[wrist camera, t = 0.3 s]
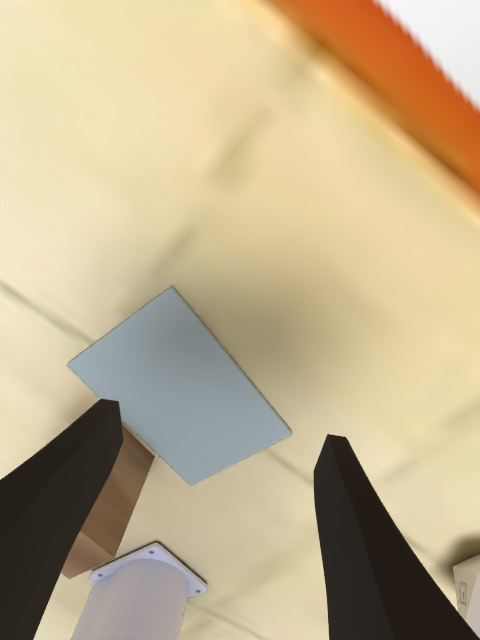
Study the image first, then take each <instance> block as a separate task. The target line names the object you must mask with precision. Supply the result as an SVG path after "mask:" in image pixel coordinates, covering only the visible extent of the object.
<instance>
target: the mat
mask: <svg viewBox="0 0 480 640" xmlns="http://www.w3.org/2000/svg"><path fill="white" fill-rule="evenodd" d="M66 366H67V367H68V368H69V369H71V370H72V371H73V372H74V373H75V374H76V375H77V376H78V377H79V378H80V379H81V380H82V381H83V382H84V383H85V384H86V385H87V386H88V387H89V388H90V389H91V390H92V391H93V392H94V393H95V394H96V395H97V396H98V397H99V398H100V399H108V400H114V401H119V406H120V414H121V419H122V420H123V421H124V422H125V423H126V424H127V425H128V426H129V427H130V428H131V429H132V430H133V431H134V432H135V433H136V434H137V435H138V436H139V437H140V438H141V439H142V440H144V441H145V442H146V443H147V444H148V445H149V446H150V447H151V448H152V449H153V450H154V451H155V452H156V453H157V454H158V455H159V456H160V457H161V458H162V459H163V460H164V461H165V462H166V463H167V464H168V465H169V466H170V467H171V468H172V469H173V470H174V471H175V472H176V473H177V474H178V475H180V476H181V477H182V478H183V479H184V480H185V481H186V482H187V483H188V484H189V485H190V486H191V485H193V484H195V483H197V482H199V481H201V480H203V479H205V478H207V477H209V476H211V475H213V474H215V473H217V472H219V471H221V470H223V469H225V468H227V467H229V466H231V465H233V464H235V463H237V462H239V461H241V460H243V459H245V458H247V457H249V456H251V455H253V454H255V453H257V452H259V451H261V450H263V449H265V448H267V447H269V446H271V445H273V444H275V443H277V442H279V441H280V440H282V439H284V438H286V437H288V436H290V435H292V431H291V429H290V428H289V427H288V426H287V424H286V423H285V422H284V421H283V420H282V418H281V417H280V416H279V415H278V413H277V412H276V411H275V410H274V409H273V407H272V406H271V405H270V404H269V403H268V401H267V400H266V399H265V398H264V396H263V395H262V394H261V393H260V392H259V390H258V389H257V388H256V387H255V386H254V384H253V383H252V382H251V381H250V379H249V378H248V377H247V376H246V375H245V373H244V372H243V371H242V370H241V369H240V367H239V366H238V365H237V364H236V362H235V361H234V360H233V359H232V358H231V356H230V355H229V354H228V353H227V352H226V350H225V349H224V348H223V347H222V345H221V344H220V343H219V342H218V341H217V339H216V338H215V337H214V336H213V335H212V333H211V332H210V331H209V330H208V328H207V327H206V326H205V325H204V324H203V322H202V321H201V320H200V319H199V318H198V316H197V315H196V314H195V313H194V311H193V310H192V309H191V308H190V307H189V305H188V304H187V303H186V302H185V300H184V299H183V298H182V297H181V296H180V294H179V293H178V292H177V291H176V290H175V288H174V287H173V286H171V287H170V288H168V289H167V290H166V291H164V292H163V293H162V294H160V295H159V296H158V297H156V298H155V299H154V300H152V301H151V302H150V303H148V304H147V305H146V306H144V307H143V308H142V309H140V310H139V311H138V312H136V313H135V314H133V315H132V316H131V317H129V318H128V319H127V320H125V321H124V322H123V323H121V324H120V325H119V326H117V327H116V328H115V329H113V330H112V331H111V332H109V333H108V334H107V335H105V336H104V337H103V338H101V339H100V340H99V341H97V342H96V343H95V344H93V345H92V346H91V347H89V348H88V349H86V350H85V351H84V352H82V353H81V354H80V355H78V356H77V357H76V358H74V359H73V360H72V361H70V362H69V363H68V364H67V365H66Z"/></svg>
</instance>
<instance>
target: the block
mask: <svg viewBox="0 0 480 640" xmlns="http://www.w3.org/2000/svg"><path fill="white" fill-rule="evenodd" d="M121 423H122V431H123V439H124V441H123V443H122V446H121V449H120V451H119V454H118V457H117V459H116V461H115V464H114V466H113V469H112V471H111V473H110V475H109V477H108V479H107V481H106V483H105V485H104V486H103V488H102V490H101V492H100V494H99V496H98V498H97V500H96V502H95V504H94V505H93V507H92V509H91V511H90V513H89V515H88V517H87V519H86V521H85V522H84V524H83V526H82V528H81V530H80V532H79V534H78V536H77V538H76V540H75V542H74V544H73V546H72V548H71V550H70V552H69V554H68V557H67V559H66V561H65V564H64V566H63V568H62V571H61V573H62V574H63V575H65V576H66V577H67V578H69V579H70V578H72V577H75V576H77V575H79V574H81V573H83V572H85V571H88V570H90V569H92V568H94V567H96V566H98V565H101V564H103V563H105V562H107V561H109V560H111V559H114V558H115V555H116V553H117V550H118V548H119V545H120V543H121V540H122V538H123V535H124V532H125V530H126V527H127V525H128V522H129V520H130V517H131V515H132V512H133V510H134V507H135V505H136V502H137V500H138V497H139V495H140V492H141V490H142V487H143V485H144V482H145V480H146V477H147V474H148V472H149V469H150V467H151V464H152V462H153V459H154V457H155V454H156V453H155V452H154V451H153V450H152V449H151V448H150V447H149V446H148V445H147V444H146V443H144V442H143V441H142V440H141V439H140V438H139V437H138V436H137V435H136V434H135V433H134V432H133V431H132V430H131V429H130V428H129V427H128V426H127V425H126V424H125V423H124V422H123V421H122V420H121Z"/></svg>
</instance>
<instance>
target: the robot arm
mask: <svg viewBox="0 0 480 640" xmlns="http://www.w3.org/2000/svg"><path fill="white" fill-rule="evenodd" d="M123 441H124V439H123V431H122V423H121V414H120V406H119V401H114V400H108V399H100V400H99V401H98V402H97V403H95V404H94V405H93V406H92V407H91V408H90V409H88V410H87V411H86V412H85V413H84V414H83V415H82V416H80V417H79V418H78V419H77V420H76V421H75V422H73V423H72V424H71V425H70V426H69V427H68V428H66V429H65V430H64V431H63V432H62V433H60V434H59V435H58V436H57V437H56V438H54V439H53V440H52V441H51V442H49V443H48V444H47V445H46V446H45V447H43V448H42V449H41V450H40V451H38V452H37V453H36V454H34V455H33V456H32V457H30V458H29V459H28V460H27V461H25V462H24V463H23V464H21V465H20V466H19V467H17V468H16V469H15V470H13V471H12V472H11V473H9V474H8V475H6V476H5V477H4V478H2V479H1V480H0V640H33V639H34V636H35V634H36V631H37V629H38V626H39V624H40V621H41V619H42V616H43V614H44V611H45V609H46V606H47V604H48V602H49V599H50V597H51V594H52V592H53V589H54V587H55V585H56V582H57V580H58V578H59V575H60V573H61V571H62V568H63V566H64V564H65V561H66V559H67V557H68V554H69V552H70V550H71V548H72V546H73V544H74V542H75V540H76V538H77V536H78V534H79V532H80V530H81V528H82V526H83V524H84V522H85V521H86V519H87V517H88V515H89V513H90V511H91V509H92V507H93V505H94V504H95V502H96V500H97V498H98V496H99V494H100V492H101V490H102V488H103V486H104V485H105V483H106V481H107V479H108V477H109V475H110V473H111V471H112V469H113V466H114V464H115V461H116V459H117V457H118V454H119V451H120V449H121V446H122V443H123ZM314 501H315V510H316V518H317V525H318V533H319V540H320V547H321V554H322V561H323V569H324V576H325V584H326V593H327V606H328V624H329V640H480V638H479V637H478V636H477V635H476V633H475V632H474V631H473V630H472V628H471V627H470V626H469V625H468V624H467V622H466V621H465V620H464V619H463V617H462V616H461V615H460V614H459V613H458V611H457V610H456V609H455V608H454V606H453V605H452V604H451V603H450V601H449V600H448V599H447V597H446V596H445V595H444V593H443V592H442V591H441V589H440V588H439V587H438V585H437V584H436V583H435V581H434V580H433V579H432V577H431V576H430V575H429V573H428V572H427V570H426V569H425V568H424V566H423V565H422V563H421V562H420V561H419V559H418V558H417V556H416V555H415V553H414V552H413V551H412V549H411V548H410V546H409V545H408V543H407V542H406V540H405V539H404V537H403V535H402V534H401V532H400V531H399V529H398V528H397V526H396V525H395V523H394V522H393V520H392V518H391V517H390V515H389V513H388V512H387V510H386V508H385V507H384V505H383V503H382V502H381V500H380V498H379V497H378V495H377V493H376V492H375V490H374V488H373V486H372V485H371V483H370V481H369V479H368V477H367V476H366V474H365V472H364V470H363V468H362V466H361V465H360V463H359V461H358V459H357V457H356V455H355V453H354V451H353V449H352V447H351V445H350V443H349V441H348V440H347V438H346V437H342V436H336V435H329V434H327V437H326V440H325V442H324V445H323V448H322V450H321V453H320V456H319V458H318V461H317V464H316V466H315V469H314ZM89 579H90V580H91V581H93V582H94V585H93V587H92V590H91V592H90V595H89V597H88V599H87V602H86V604H85V606H84V609H83V611H82V614H81V616H80V618H79V621H78V623H77V625H76V628H75V630H74V633H73V635H72V637H71V640H179V637H180V631H181V626H182V620H183V615H184V609H185V604H186V599H188V598H191V597H193V596H196V595H199V594H201V593H204V592H206V591H207V585H206V583H204V582H203V581H202V580H201V579H200V578H199V577H197V576H196V575H195V574H194V573H193V572H192V571H190V570H189V569H188V568H187V567H186V566H185V565H183V564H182V563H181V562H180V561H179V560H178V559H176V558H175V557H174V556H173V555H172V554H171V553H169V552H168V551H167V550H166V549H165V548H164V547H162V546H161V545H160V544H158V543H153V544H151V545H149V546H146V547H144V548H142V549H140V550H138V551H136V552H133V553H131V554H129V555H127V556H125V557H123V558H120V559H118V560H116V561H114V562H112V563H110V564H107V565H105V566H103V567H101V568H99V569H96V570H94V571H92V572H91V573H90V575H89Z"/></svg>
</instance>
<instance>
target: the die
mask: <svg viewBox="0 0 480 640" xmlns="http://www.w3.org/2000/svg"><path fill="white" fill-rule="evenodd" d="M453 573H454V581H455V588H456V596H457V604H458V612H459V614H460V615H461V616H462V617H463V619H464V620H465V621H466V622H467V624H468V625H469V626H470V627H471V628H472V630H473V631H474V632H475V633H476V635H477V636H478V637H479V638H480V553H479V554H477V555H475V556H473V557H471V558H469V559H467V560H464V561H462V562H460V563H458V564H456V565H454V566H453Z"/></svg>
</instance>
